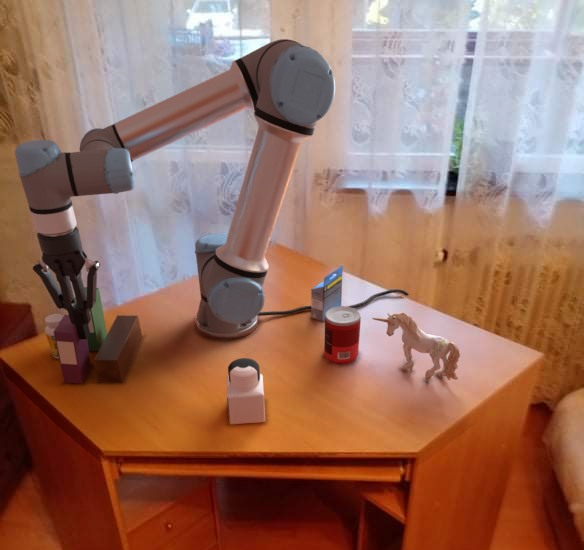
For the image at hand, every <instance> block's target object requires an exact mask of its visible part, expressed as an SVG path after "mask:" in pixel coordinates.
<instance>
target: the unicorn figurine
mask: <svg viewBox="0 0 584 550" xmlns="http://www.w3.org/2000/svg"><path fill="white" fill-rule="evenodd" d="M387 316H388V317H387V318H379V317H372V318H371V319H372V320H375V321H379V322H382V323H387V326H386V336H388V337H393V335H395V330H397V329H399V328H400V329H401V330H402V334H401V341H402V343H403V344H402V349H403V354H404V358H405V359H406V361H407V362H406V364H404V365H403V366H402V367H401V369H402V371H403V372H407V371H408V370H409V371H410V372H412V371H413V369H414V366H415V365H414V364H415V363H414V362H413V360H412V359H413V354H412V349H413V350H414V351H417V352H418V353H420V354H429V356H430V358H431V362H432V363H433V367H430V368H428V369H427V370H426V371H425V378H424V379H425V381H429V380H430V379H431V378H432V377H433V376H437V378H441V377H446V378H447V380H448V381H450V380H451V379H453V380H458V379H459V376H457V373H456V370H458V367H459V365H458V362H459V359H460V357H461V354H460V348H459V347H458V346H457V345H456V343H455V342H450V341H449V340H448V339H446V338H444V337H443V336H439V335H432V334H429V333H427V332H424V331H423V330H422V329H420V326H419V325H418V323H417V322H416V321H415V320H414V318H412V316H411V315H408V314H407V313H406V312H400V311H399V312H395V313H392V314H390V313H388V312H387ZM448 354H449V355H448ZM440 360H442V363H443V364H442V365H443V366H442V369H441V365H440ZM440 369H441V370H440ZM438 370H439V371H438ZM436 371H437V372H436ZM435 372H436V373H435Z"/></svg>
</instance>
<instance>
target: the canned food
mask: <svg viewBox="0 0 584 550" xmlns="http://www.w3.org/2000/svg"><path fill="white" fill-rule="evenodd" d="M361 318H362V316H361V312H360V311H359V310H358V309H357V308H351V307H346V306H345V305H344V306H343V305H341V306H340V307H334V308H331V309H329V310H328V311H327V312H326V314H325V320H324V341H323V342H324V343H323V346H324V347H323V349H324V350H323V353H324V357H325V359H326V360H327V362H329V363H332V364H334V365H341V366H342V365H348V364H352V363H354V362H355V361H356V360H357V358H358V356H359V347H360V334H361V322H362V321H361Z"/></svg>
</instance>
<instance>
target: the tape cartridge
mask: <svg viewBox="0 0 584 550" xmlns="http://www.w3.org/2000/svg"><path fill="white" fill-rule="evenodd" d="M343 270H344V264H341V266H339V267H337V268H336V269H335V270H333V271H332V272H330V273H328V274H327V275H326V276H324V277H323V280H322V281H321V282H319V283H318V284H316V285H315V286H314V287H312V288H311V291H310V294H311V295H310V300H311V301H310V303H311V304H310V306H311V309H310V318H311V319H313V320H316V321H319V322H325V314H326V312H327V311H328V310H329V309H331V308H334V307H340V306H342V294H343V293H342V292H343V272H344V271H343Z"/></svg>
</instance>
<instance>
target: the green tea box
mask: <svg viewBox="0 0 584 550" xmlns="http://www.w3.org/2000/svg"><path fill="white" fill-rule="evenodd" d="M84 289H85V293H86V297H87V286H84ZM74 299H75V303H76V302H77V301H76V297H75V296H74ZM76 306H78V305H77V303H76V305H75V307H76ZM89 313H90V317H91V320H90V322H89V324H88V326H89V330H90V334H89V336H88V337H87V341H88V347H89V352H90V351H91V352H92V351H93V352H98V351H99V350H100V348H101V346H102V344H103V342H104V340H105V338H106V336H107V334H108V333H107V327H106V321H105V316H104V309H103V303H102V298H101V292H100V288H99V287H96V303H95V304H94V306H93V307H92V309H89Z"/></svg>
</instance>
